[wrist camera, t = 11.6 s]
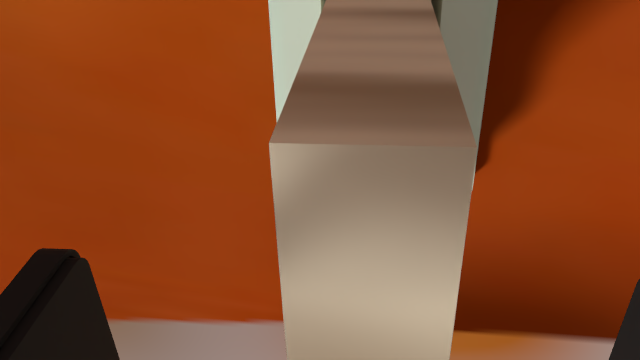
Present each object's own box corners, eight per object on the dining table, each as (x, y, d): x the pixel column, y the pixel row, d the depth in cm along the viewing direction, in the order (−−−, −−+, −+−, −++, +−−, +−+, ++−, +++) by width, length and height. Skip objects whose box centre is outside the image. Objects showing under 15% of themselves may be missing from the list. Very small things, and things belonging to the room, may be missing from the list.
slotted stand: (270, -43, 20) (243, -19, 16) (498, -46, 19) (526, -20, 15) (284, 173, 24) (266, 233, 21) (469, 178, 24) (485, 242, 20)
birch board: (342, -42, 19) (268, 142, 7) (417, -43, 19) (477, 147, 7) (344, 185, 23) (301, 536, 11) (404, 187, 23) (425, 547, 11)
